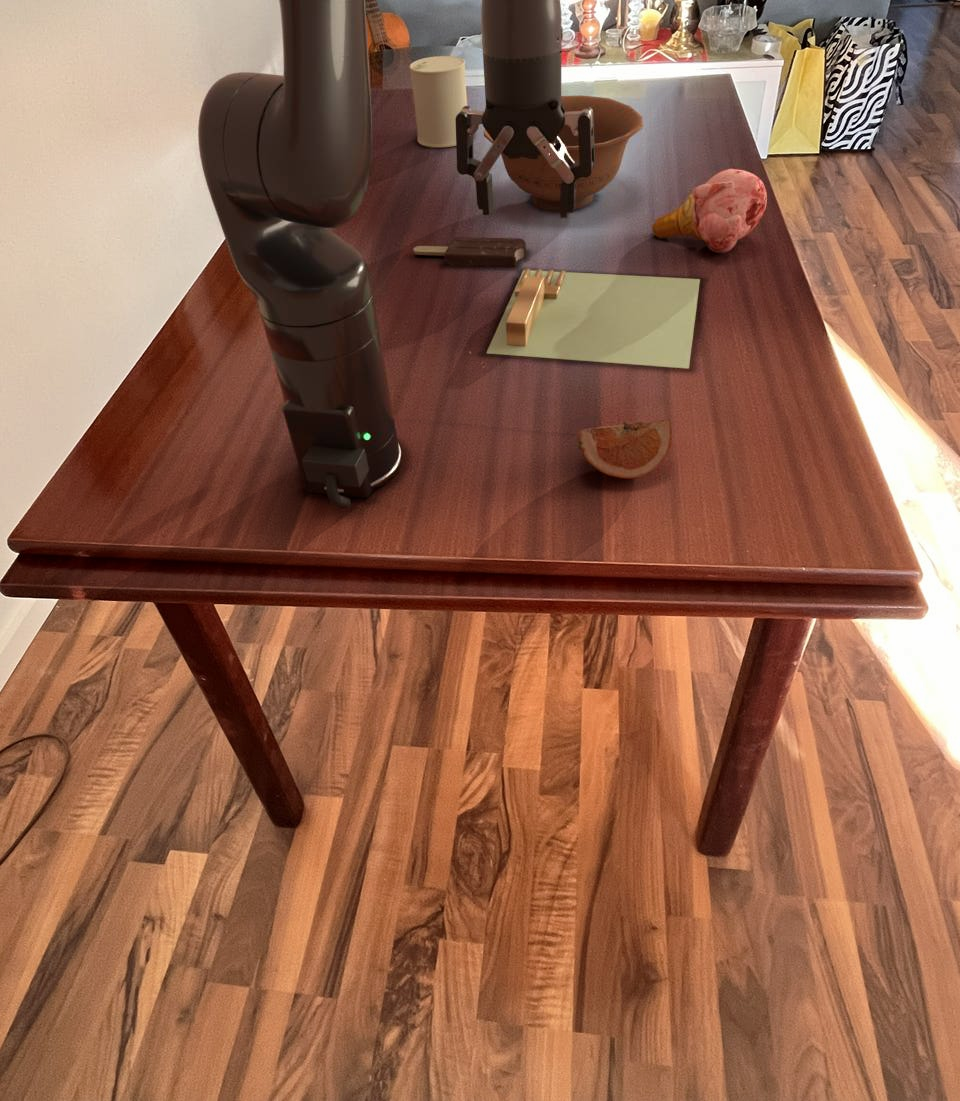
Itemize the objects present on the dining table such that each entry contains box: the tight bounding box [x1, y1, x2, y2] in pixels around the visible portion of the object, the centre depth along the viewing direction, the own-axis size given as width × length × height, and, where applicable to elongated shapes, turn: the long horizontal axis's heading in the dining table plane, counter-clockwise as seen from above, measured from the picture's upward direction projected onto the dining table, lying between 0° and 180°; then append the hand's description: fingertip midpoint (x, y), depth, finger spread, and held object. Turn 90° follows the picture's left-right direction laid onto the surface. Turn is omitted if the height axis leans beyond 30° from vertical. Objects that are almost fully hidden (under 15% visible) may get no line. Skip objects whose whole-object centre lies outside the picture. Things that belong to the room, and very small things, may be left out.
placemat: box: [486, 269, 701, 370], centre depth 94 cm, size 20×22×1 cm
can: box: [409, 55, 468, 149], centre depth 136 cm, size 9×9×12 cm
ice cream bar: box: [413, 236, 527, 268], centre depth 107 cm, size 5×2×15 cm
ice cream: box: [652, 168, 768, 254], centre depth 103 cm, size 11×10×15 cm
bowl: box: [483, 95, 644, 212], centre depth 115 cm, size 22×22×11 cm
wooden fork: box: [506, 267, 566, 346], centre depth 95 cm, size 17×5×3 cm, turn 166°
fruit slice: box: [576, 419, 673, 480], centre depth 73 cm, size 8×7×5 cm
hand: (526, 213), depth 88 cm, fingers open, 8 cm apart
